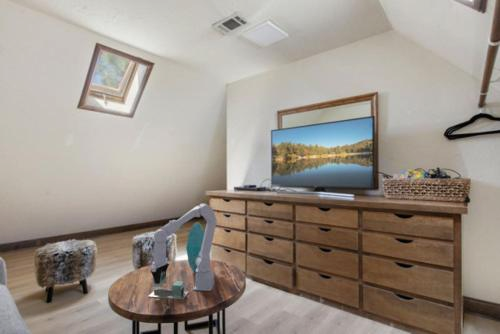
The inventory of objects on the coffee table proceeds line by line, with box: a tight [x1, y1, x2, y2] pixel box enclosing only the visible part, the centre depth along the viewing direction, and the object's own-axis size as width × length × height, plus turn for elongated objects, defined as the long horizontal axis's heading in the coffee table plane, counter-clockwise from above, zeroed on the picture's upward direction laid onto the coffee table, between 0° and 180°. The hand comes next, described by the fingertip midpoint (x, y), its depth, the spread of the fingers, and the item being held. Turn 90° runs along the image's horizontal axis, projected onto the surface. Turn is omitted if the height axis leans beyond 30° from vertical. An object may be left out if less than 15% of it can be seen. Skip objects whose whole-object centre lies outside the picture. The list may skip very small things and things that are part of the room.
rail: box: [147, 280, 190, 300], centre depth 130 cm, size 18×7×6 cm, turn 84°
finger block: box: [152, 271, 167, 288], centre depth 130 cm, size 4×5×6 cm
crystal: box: [185, 222, 205, 273], centre depth 160 cm, size 12×14×30 cm
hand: (159, 281), depth 130 cm, fingers closed on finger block, 5 cm apart
